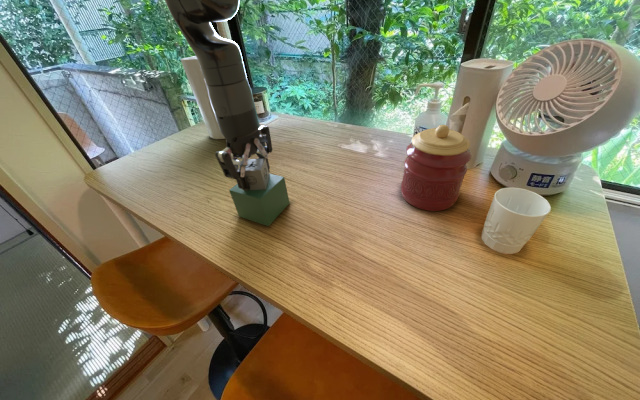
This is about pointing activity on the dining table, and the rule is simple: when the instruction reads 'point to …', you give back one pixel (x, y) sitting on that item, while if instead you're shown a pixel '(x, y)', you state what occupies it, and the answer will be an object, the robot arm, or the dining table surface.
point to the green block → (261, 201)
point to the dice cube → (257, 173)
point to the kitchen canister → (435, 168)
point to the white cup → (513, 219)
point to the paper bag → (201, 95)
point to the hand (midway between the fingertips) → (255, 180)
